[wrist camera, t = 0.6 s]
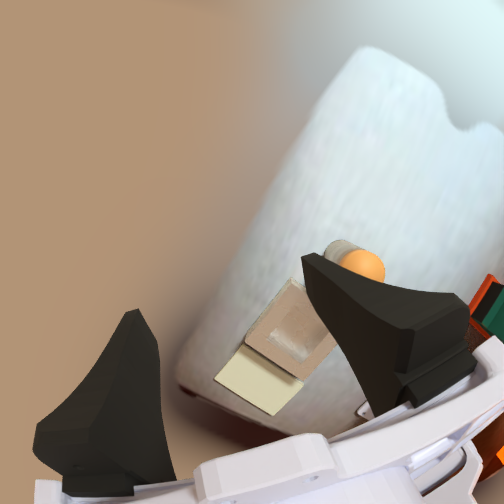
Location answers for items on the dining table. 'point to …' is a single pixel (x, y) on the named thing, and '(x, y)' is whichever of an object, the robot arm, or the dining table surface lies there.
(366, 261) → the orange capped bottle
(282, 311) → the block
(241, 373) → the key mat
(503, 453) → the orange juice
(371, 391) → the robot arm
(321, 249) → the dining table surface
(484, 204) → the dining table surface
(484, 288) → the power tool
